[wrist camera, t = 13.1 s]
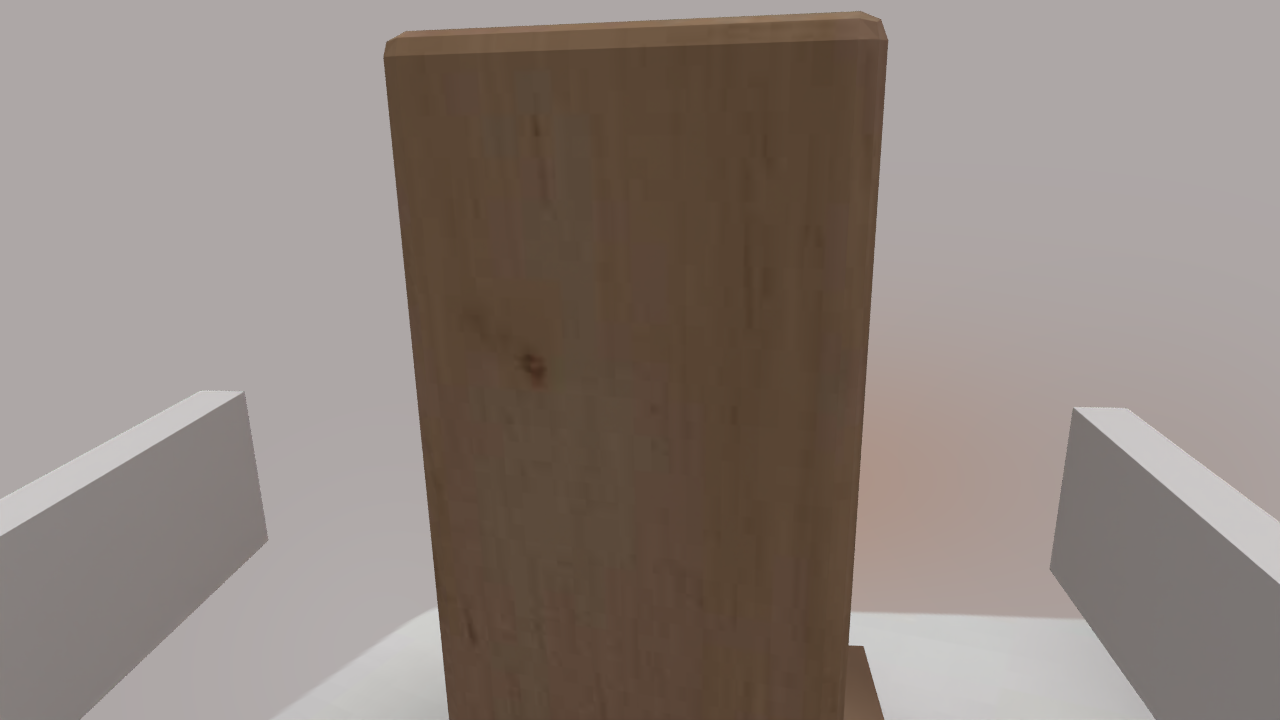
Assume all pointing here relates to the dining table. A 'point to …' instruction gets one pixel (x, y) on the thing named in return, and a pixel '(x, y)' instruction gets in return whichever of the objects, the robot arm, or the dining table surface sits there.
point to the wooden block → (641, 356)
